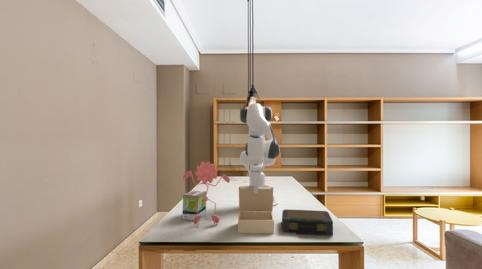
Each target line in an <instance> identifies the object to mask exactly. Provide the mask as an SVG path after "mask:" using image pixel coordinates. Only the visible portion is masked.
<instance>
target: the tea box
mask: <svg viewBox="0 0 482 269" xmlns="http://www.w3.org/2000/svg"><path fill="white" fill-rule="evenodd" d="M206 192H207V190H190V191H189V192H186V193H184V194H182V220H184V221H185V220H187V221H193V220H194V218H195V217H196V216H197V213H198V216H200V219H201V218H202V217H204V216H205V215H206V214H207V201H204V200H203V198H204V197H205V196H207V195H206ZM201 200H203V201H201ZM200 201H201V202H200ZM199 202H200V203H199ZM197 203H198V204H197ZM196 204H197V211H196Z"/></svg>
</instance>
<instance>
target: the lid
mask: <svg viewBox="0 0 482 269" xmlns="http://www.w3.org/2000/svg"><path fill="white" fill-rule="evenodd" d="M273 196H274V186H270V187H265V186H259V187H258V193H254V187H253V186H249V185H248V186H247V185H242V186H241V185H240V186H238V208H239V209H238V211H239V212H272V213H273V210H274V209H273V207H274V206H273Z"/></svg>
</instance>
